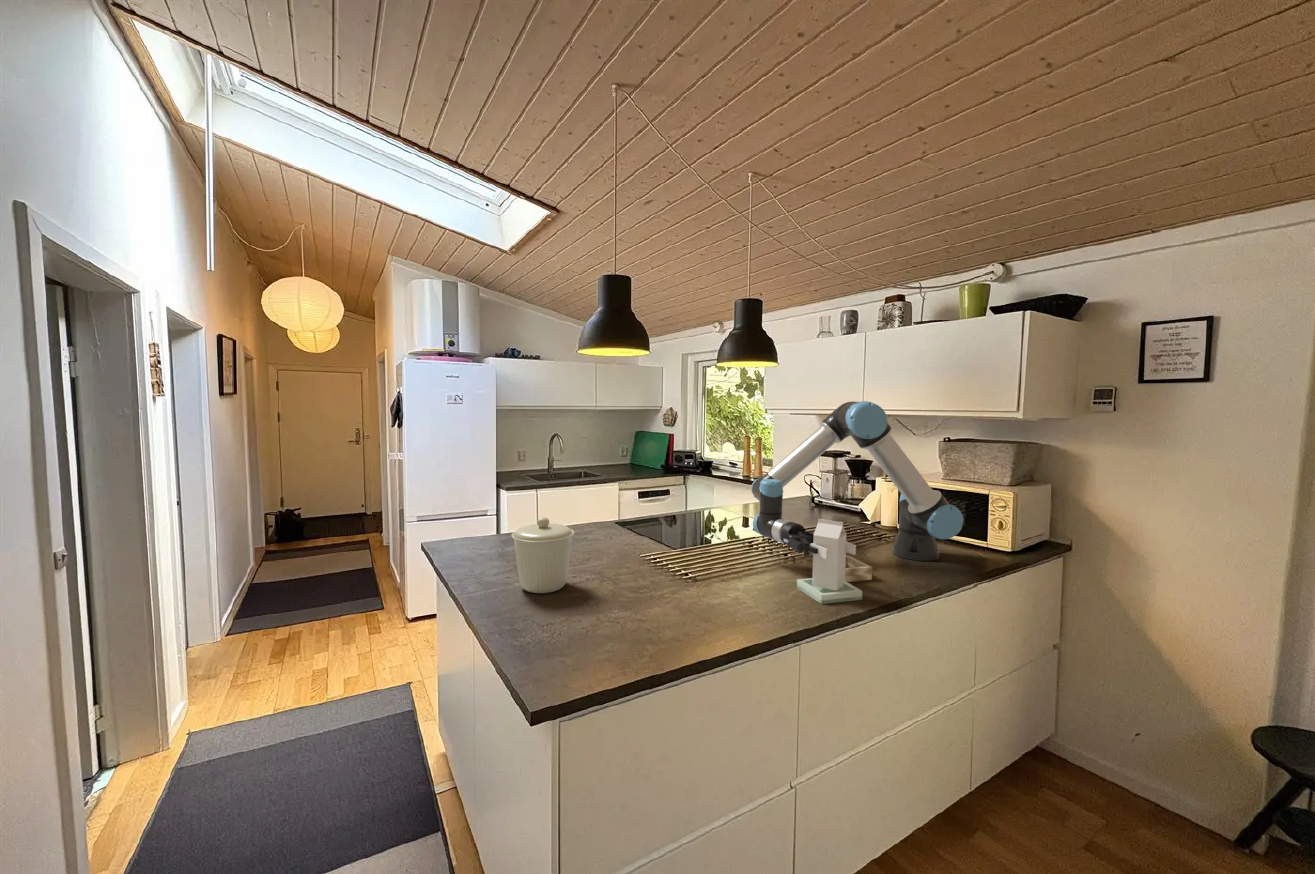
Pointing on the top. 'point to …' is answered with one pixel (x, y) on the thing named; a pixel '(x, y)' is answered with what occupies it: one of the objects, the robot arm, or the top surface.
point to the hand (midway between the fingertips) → (841, 551)
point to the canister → (543, 555)
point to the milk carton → (830, 555)
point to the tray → (829, 592)
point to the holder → (856, 570)
